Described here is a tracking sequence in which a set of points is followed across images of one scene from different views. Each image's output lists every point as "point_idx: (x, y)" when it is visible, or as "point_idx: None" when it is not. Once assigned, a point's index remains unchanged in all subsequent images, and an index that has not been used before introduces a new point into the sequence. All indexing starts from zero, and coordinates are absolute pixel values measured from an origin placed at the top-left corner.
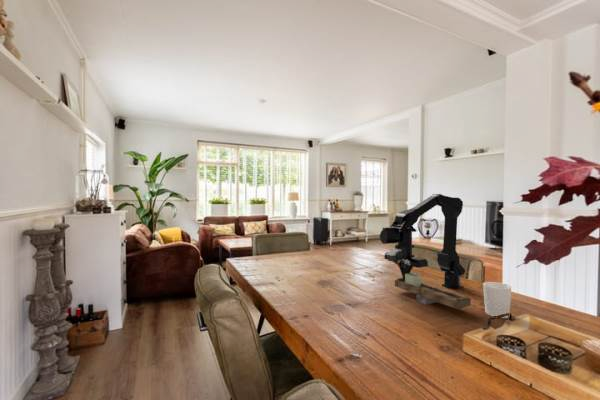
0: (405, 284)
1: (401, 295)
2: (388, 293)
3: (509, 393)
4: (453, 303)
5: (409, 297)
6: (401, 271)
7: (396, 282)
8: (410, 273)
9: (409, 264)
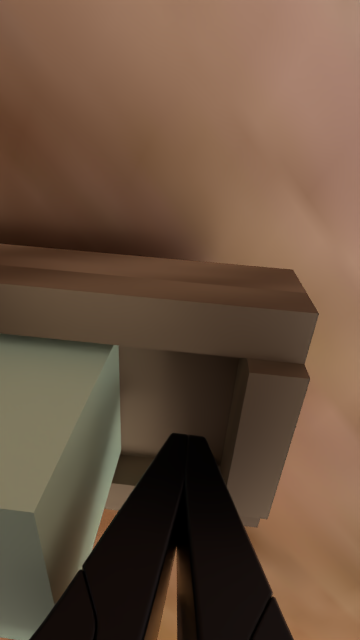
0: (37, 283)
1: (146, 208)
2: (305, 113)
3: None
4: None
5: (52, 232)
6: (237, 589)
7: (267, 294)
8: (1, 589)
9: None
